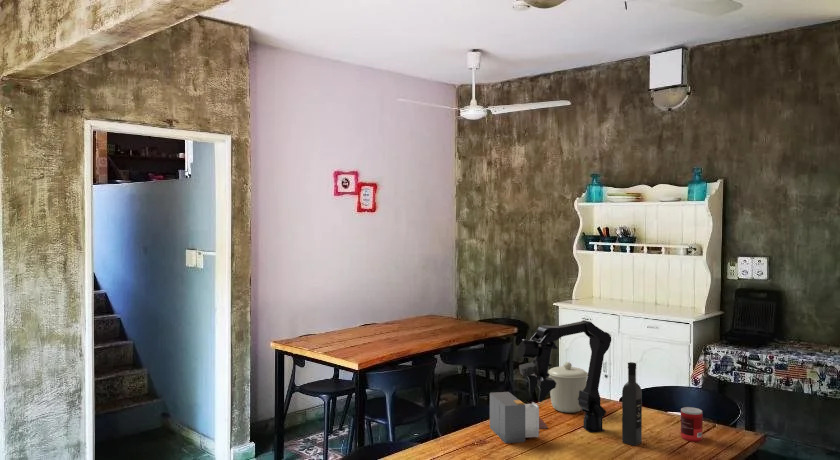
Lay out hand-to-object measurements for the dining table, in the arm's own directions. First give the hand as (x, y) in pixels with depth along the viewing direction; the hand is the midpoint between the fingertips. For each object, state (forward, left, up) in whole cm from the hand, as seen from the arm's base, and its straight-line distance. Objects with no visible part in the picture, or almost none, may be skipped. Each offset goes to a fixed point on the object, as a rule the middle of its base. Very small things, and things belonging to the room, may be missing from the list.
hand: (535, 397), depth 243 cm
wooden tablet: (-5, -20, -16) cm, 26 cm away
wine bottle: (-32, +15, -15) cm, 39 cm away
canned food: (-57, +15, -15) cm, 61 cm away
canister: (-27, -29, -15) cm, 42 cm away
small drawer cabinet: (+11, -3, -15) cm, 18 cm away
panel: (+5, +3, -13) cm, 15 cm away
